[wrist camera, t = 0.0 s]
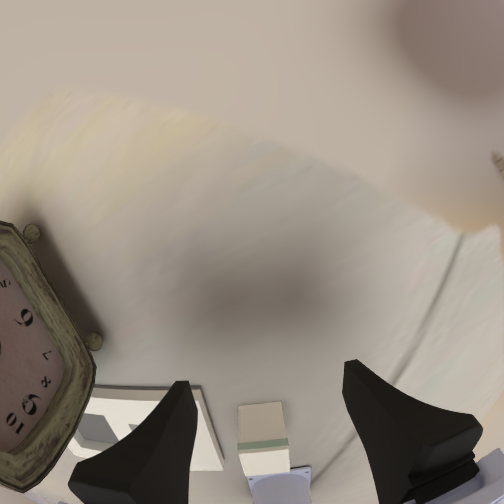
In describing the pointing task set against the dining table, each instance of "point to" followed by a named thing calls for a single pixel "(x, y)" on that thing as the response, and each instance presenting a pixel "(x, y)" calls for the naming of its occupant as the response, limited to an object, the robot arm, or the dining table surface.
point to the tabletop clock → (37, 366)
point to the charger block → (262, 439)
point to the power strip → (131, 415)
